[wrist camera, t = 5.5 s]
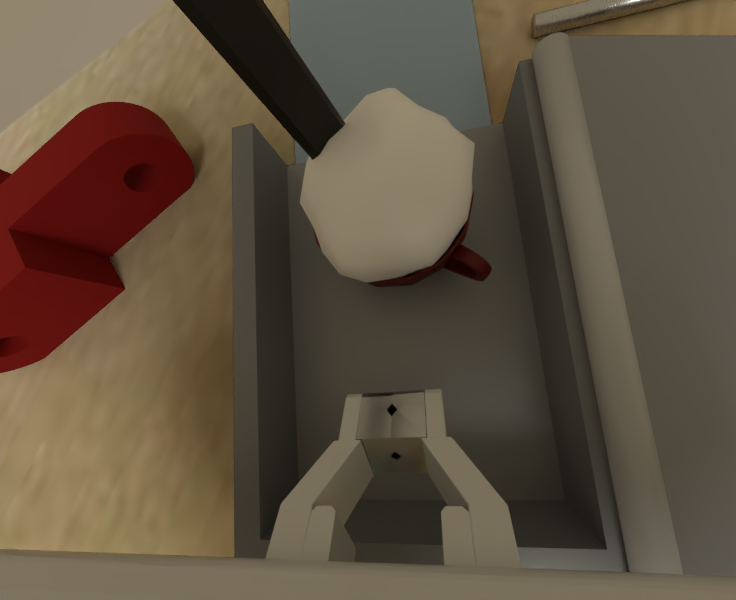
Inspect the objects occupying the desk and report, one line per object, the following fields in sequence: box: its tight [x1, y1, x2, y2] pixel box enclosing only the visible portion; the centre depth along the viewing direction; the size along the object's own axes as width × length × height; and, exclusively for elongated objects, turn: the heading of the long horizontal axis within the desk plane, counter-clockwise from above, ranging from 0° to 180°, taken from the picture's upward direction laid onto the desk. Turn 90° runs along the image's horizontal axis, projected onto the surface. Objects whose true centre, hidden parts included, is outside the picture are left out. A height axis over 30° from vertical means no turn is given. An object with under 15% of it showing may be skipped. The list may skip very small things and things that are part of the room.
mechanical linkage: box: [0, 102, 194, 373], centre depth 18 cm, size 16×7×5 cm, turn 127°
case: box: [232, 32, 736, 576], centre depth 12 cm, size 26×18×4 cm
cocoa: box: [173, 0, 492, 287], centre depth 11 cm, size 10×6×12 cm, turn 29°
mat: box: [289, 0, 492, 164], centre depth 18 cm, size 10×11×1 cm
